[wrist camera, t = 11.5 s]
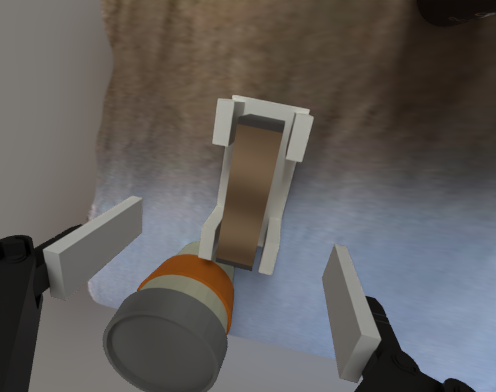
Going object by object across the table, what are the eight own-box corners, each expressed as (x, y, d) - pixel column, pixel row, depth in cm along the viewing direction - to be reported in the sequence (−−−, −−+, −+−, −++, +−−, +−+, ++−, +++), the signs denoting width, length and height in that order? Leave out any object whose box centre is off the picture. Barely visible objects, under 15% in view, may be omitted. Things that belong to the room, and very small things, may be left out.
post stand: (236, 95, 29) (218, 92, 22) (308, 109, 28) (315, 111, 21) (216, 228, 36) (197, 260, 28) (274, 241, 35) (270, 279, 28)
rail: (250, 113, 28) (238, 116, 21) (285, 120, 27) (284, 126, 21) (229, 231, 33) (215, 261, 27) (258, 238, 33) (251, 271, 26)
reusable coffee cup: (241, 229, 35) (211, 312, 21) (249, 300, 39) (228, 407, 25) (160, 230, 37) (84, 305, 23) (175, 297, 41) (118, 394, 28)
